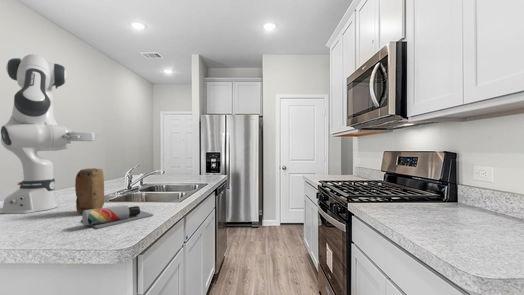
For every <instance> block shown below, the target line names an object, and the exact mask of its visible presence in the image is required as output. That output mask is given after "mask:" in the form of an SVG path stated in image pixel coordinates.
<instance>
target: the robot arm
mask: <svg viewBox="0 0 524 295" xmlns="http://www.w3.org/2000/svg"><path fill="white" fill-rule="evenodd" d="M5 67H6V69H5V70H6V73H7V74H8V77H9V78H10V79H11V80H14V81H16V82H17V85H18V86H19V87H20V89H19V90H18V91H17V92H16V93H15V94H14V96H13V106H12V112H11V116H10V117H9V119H8V121H7V123H5V124H4V125H2V126H1V128H0V134H1V139H0V142H1V145H2V146H3V147H4V148H5V149H6V150H8V151H9V152H11V153H13V154H14V155H15V156H16V157H17V158H18V159H19V161H20V163H21V165H22V174H23V180H22V181H21V182H18V183H17V186H19V188H18V189H16V190H15V191H14V192H12V193H10V194H9V195H8V196H6V197H5V199H4V201H3V204H2V205H3V206H2V207H0V214H30V213H35V212H40V211H47V210H51V209H55V208H57V207H59V205H58V202H57V198H56V192H55V187H56V181H55V177H54V164H53V162H52V161H51V160H50V159H47V158H45V157H42V156H40V155H39V154H38V152H50V151H51V152H56V151H63V150H67V149H68V148H70V146H71V144H72V142H93V141H95V139H99V138H100V135H99V134H98V133H97V134H95V133H94V132H92V131H73V130H71V129H70V128H68V127H66V125H62V124H61V125H60V124H58V123H57V119H56V118H55V106H54V104H55V103H54V102H55V99H54V92H53V87H55V90H57V89H58V88H59V87H62V86H63V85H65V83H66V82H67V78H68V73H67V71H66V69H65V66H63V65H61V64H59V63H52V62H50V61H49V62H48V61H47V60H46V58H44V57H43V56H41V55H38V54H34V53H33V54H32V53H31V54H27V55H25V56H24V57H22V59H21V58H19V57H17V58H10V59H8V61H7V63H6V65H5Z"/></svg>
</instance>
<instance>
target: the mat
mask: <svg viewBox="0 0 524 295" xmlns="http://www.w3.org/2000/svg"><path fill="white" fill-rule="evenodd" d="M149 217H154V213H153V214H152V213H150V212H147V211H143V210H140V214H138V215H135V216H129V217H128V219H123V220H117V221H112V222H106V223H99V224H93V225H89V226H90V227H91V228H93V229H96V230H100V229H103V228H108V227H113V226H116V225H120V224H124V223H129V222H133V221H137V220H141V219H145V218H149ZM80 222H81V223H83V221H82V219H81V220H80Z"/></svg>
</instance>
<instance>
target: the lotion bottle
mask: <svg viewBox="0 0 524 295" xmlns="http://www.w3.org/2000/svg"><path fill="white" fill-rule="evenodd" d="M140 211H141V208H140V206H139V205H136V206H128V205H127V204H125V205H117V206H109V207H102V208H99V209H91V210H85V211H83V213H82V215H81V216H82V217H81V220H82V221H83V222H82V225H83V226H90V225H93V224H99V223H106V222H112V221H117V220H123V219H128V217H129V216H135V215H138V214H140Z"/></svg>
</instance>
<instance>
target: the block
mask: <svg viewBox="0 0 524 295" xmlns="http://www.w3.org/2000/svg"><path fill="white" fill-rule="evenodd" d="M74 181H75V183H74V189H75V197H76V201H75V208H76V212H78V213H79V214H83V211H85V210H91V209H99V208H104V204H105V177H104V170H103V169H102V168H84V169H83V168H82V169H80V170H79V171H78V172H77V173H76V176H75V180H74Z"/></svg>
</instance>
